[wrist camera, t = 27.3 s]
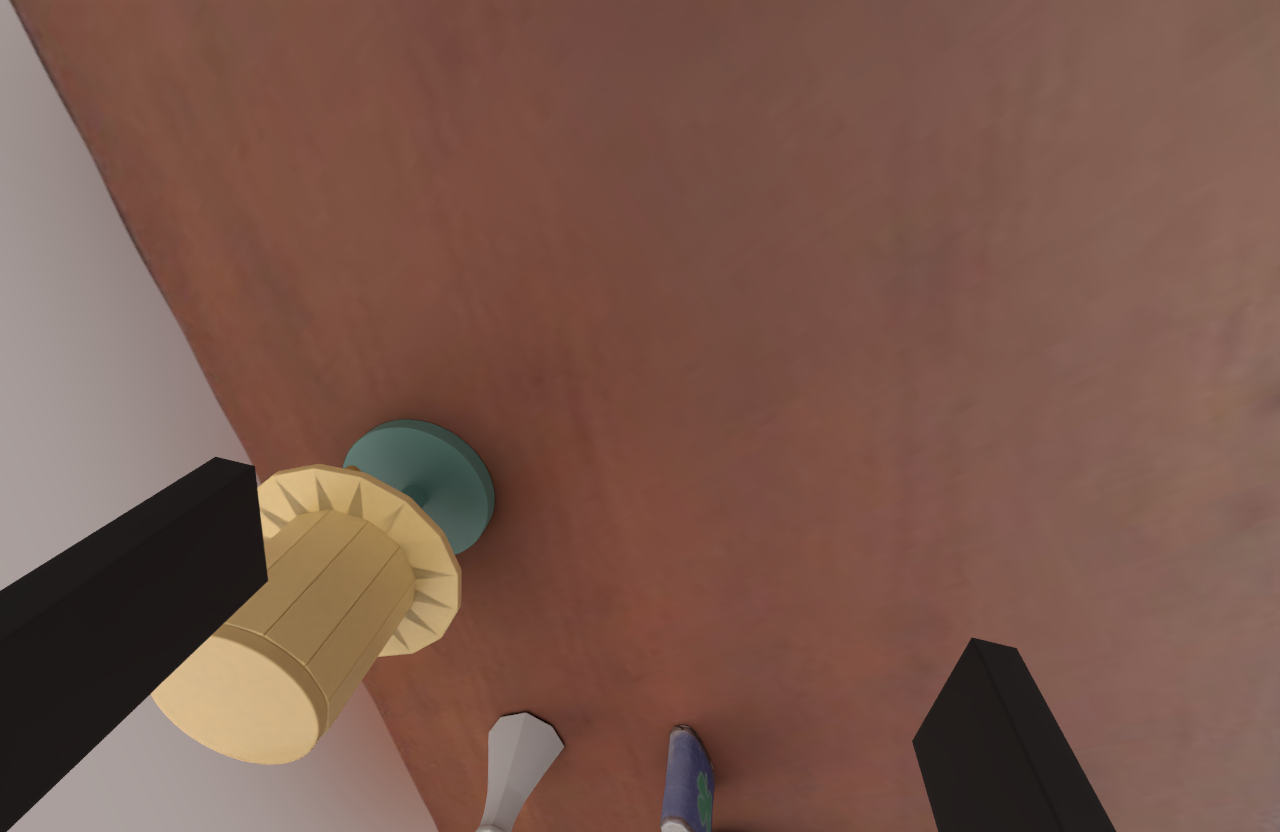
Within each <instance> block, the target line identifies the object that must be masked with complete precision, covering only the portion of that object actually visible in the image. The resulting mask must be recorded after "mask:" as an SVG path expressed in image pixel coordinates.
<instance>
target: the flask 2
mask: <svg viewBox="0 0 1280 832" xmlns="http://www.w3.org/2000/svg"><path fill="white" fill-rule="evenodd" d="M679 727H682V728H683V729H684V730H682V729H681V728H679ZM679 727H673V729H672V731H671V733H670V743H669V753H668V764H667V774H666V784H665V791H664V799H663V808H662V816H661V823H660V828H661V832H712V809H713V798H714V789H715V785H714V784H715V776H714V770H713V766H712V763H711V759H710V758H709V757H708V755H707V752H706V750H705V748H704V745H703V744H702V742H701V740H700V739H699V736H698V734H696V733H695V732H694V731H693V730H692V729H690V727H687V726H685V725H681V726H679Z"/></svg>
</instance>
